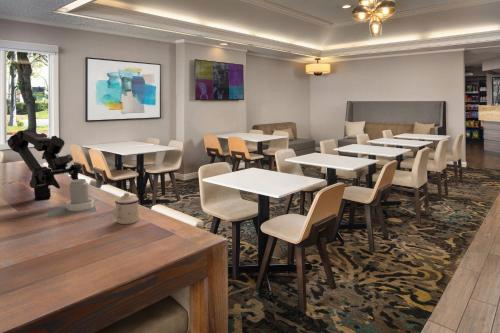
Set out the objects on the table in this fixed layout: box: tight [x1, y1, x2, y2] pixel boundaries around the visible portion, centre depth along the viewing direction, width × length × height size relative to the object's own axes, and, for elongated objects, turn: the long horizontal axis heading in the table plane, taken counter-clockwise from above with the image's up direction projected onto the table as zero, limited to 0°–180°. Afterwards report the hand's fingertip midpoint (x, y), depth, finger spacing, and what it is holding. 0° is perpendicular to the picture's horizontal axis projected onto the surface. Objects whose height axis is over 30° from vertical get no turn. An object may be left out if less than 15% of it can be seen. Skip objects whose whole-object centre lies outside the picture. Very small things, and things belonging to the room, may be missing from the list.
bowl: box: [66, 197, 95, 211], centre depth 171 cm, size 11×11×3 cm
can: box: [69, 178, 90, 204], centre depth 170 cm, size 8×8×12 cm
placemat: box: [47, 203, 97, 218], centre depth 168 cm, size 19×16×1 cm
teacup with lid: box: [112, 192, 140, 225], centre depth 152 cm, size 12×9×12 cm
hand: (69, 186), depth 174 cm, fingers open, 9 cm apart
